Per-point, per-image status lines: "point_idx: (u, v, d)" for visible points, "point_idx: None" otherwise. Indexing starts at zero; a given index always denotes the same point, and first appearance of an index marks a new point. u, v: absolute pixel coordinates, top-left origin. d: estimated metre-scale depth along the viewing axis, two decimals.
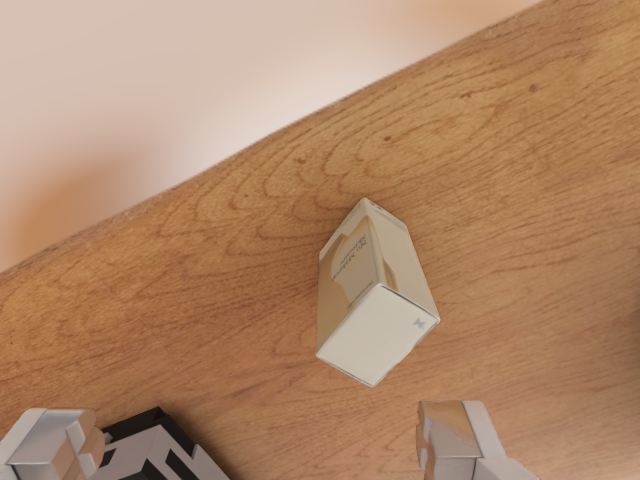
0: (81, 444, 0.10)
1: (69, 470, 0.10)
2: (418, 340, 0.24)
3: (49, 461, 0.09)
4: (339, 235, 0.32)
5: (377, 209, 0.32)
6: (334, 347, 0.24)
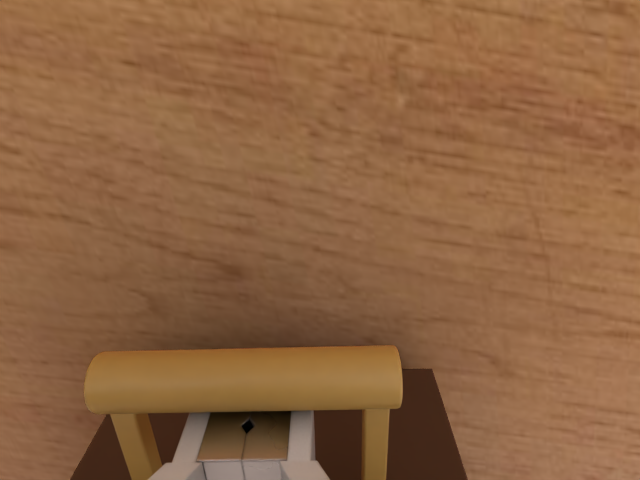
0: None
1: None
2: None
3: (239, 458, 0.09)
4: None
5: None
6: None
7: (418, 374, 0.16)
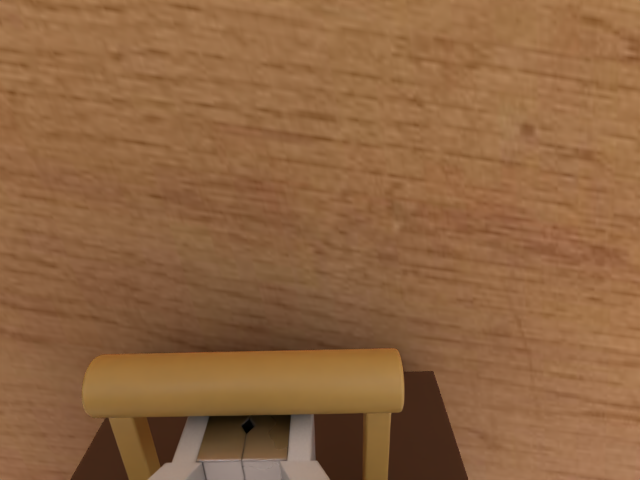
0: None
1: None
2: None
3: (238, 458, 0.09)
4: None
5: None
6: None
7: (419, 377, 0.16)
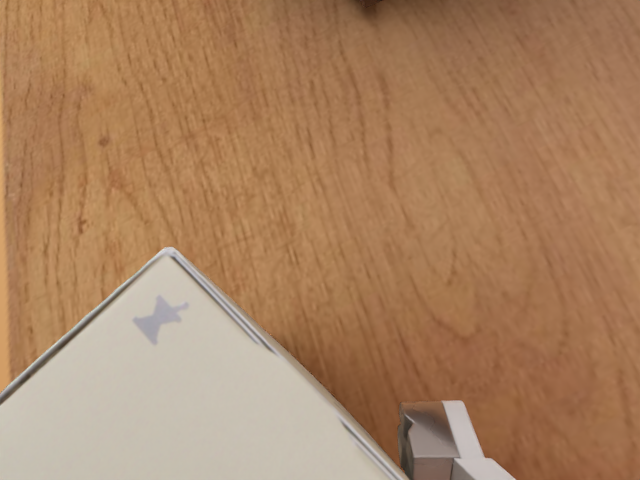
0: None
1: None
2: (243, 327, 0.06)
3: None
4: None
5: None
6: None
7: None
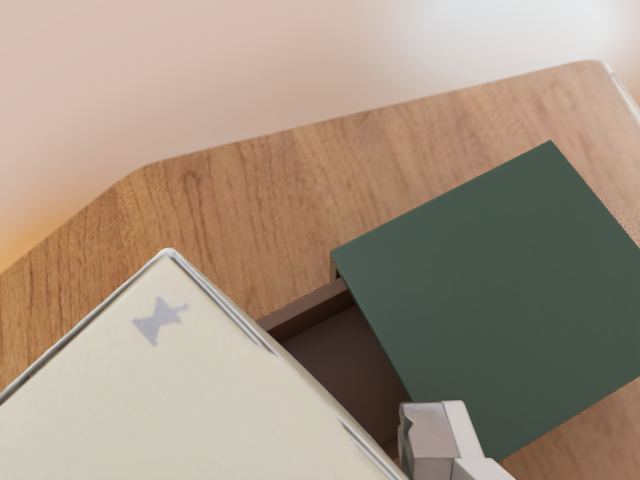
0: None
1: None
2: (243, 329, 0.06)
3: None
4: None
5: None
6: None
7: None
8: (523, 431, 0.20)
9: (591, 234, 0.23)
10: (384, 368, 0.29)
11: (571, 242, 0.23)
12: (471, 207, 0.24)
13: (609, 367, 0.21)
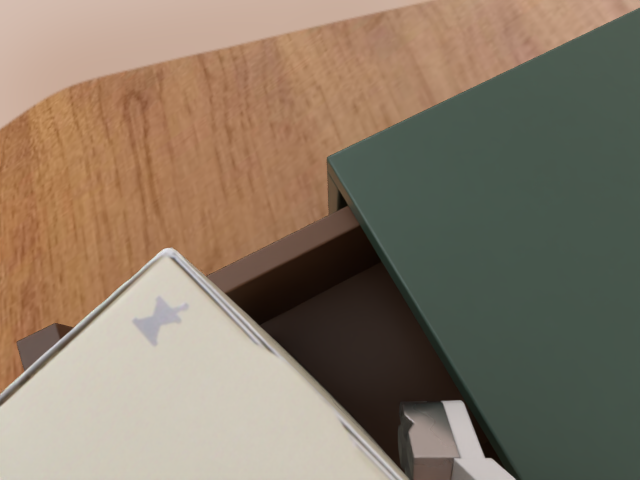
0: None
1: None
2: (243, 328, 0.06)
3: None
4: None
5: None
6: None
7: None
8: None
9: None
10: (413, 365, 0.18)
11: None
12: (574, 83, 0.14)
13: None
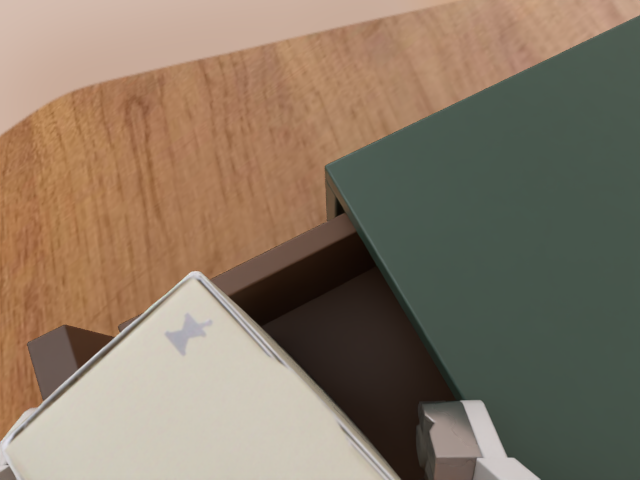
0: None
1: None
2: (258, 343, 0.07)
3: None
4: None
5: None
6: None
7: None
8: None
9: None
10: (411, 366, 0.19)
11: None
12: (564, 94, 0.14)
13: None
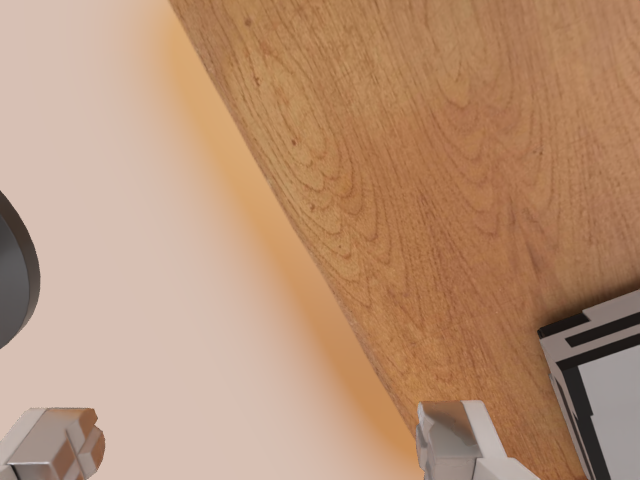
0: (81, 444, 0.10)
1: (69, 470, 0.10)
2: None
3: (49, 461, 0.09)
4: None
5: None
6: None
7: None
8: None
9: None
10: None
11: None
12: None
13: None
